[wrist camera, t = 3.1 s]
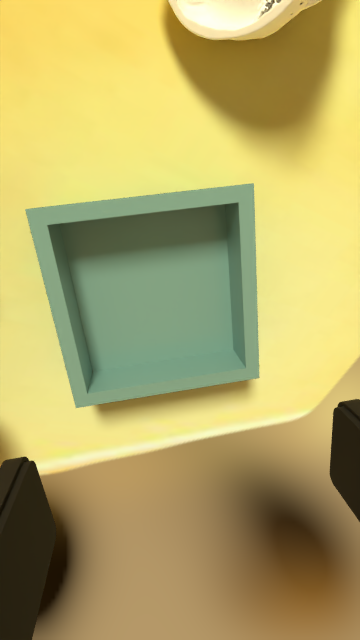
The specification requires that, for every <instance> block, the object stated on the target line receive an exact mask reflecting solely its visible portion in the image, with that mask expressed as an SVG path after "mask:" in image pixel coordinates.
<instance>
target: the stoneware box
mask: <svg viewBox="0 0 360 640" xmlns="http://www.w3.org/2000/svg"><path fill="white" fill-rule="evenodd" d="M25 210H26V214H27V218H28V222H29V226H30V230H31V233H32V237H33V241H34V245H35V249H36V253H37V257H38V261H39V265H40V269H41V273H42V277H43V280H44V284H45V288H46V292H47V296H48V300H49V304H50V308H51V312H52V316H53V320H54V323H55V327H56V331H57V335H58V339H59V343H60V347H61V351H62V355H63V359H64V363H65V367H66V370H67V374H68V378H69V382H70V386H71V390H72V394H73V398H74V402H75V406H76V408H79V407H85V406H91V405H97V404H104V403H110V402H116V401H122V400H128V399H134V398H140V397H146V396H152V395H158V394H164V393H171V392H177V391H183V390H189V389H195V388H201V387H207V386H213V385H219V384H225V383H231V382H237V381H244V380H250V379H256V378H259V349H258V314H257V279H256V244H255V209H254V183H252V184H244V185H235V186H226V187H217V188H208V189H199V190H191V191H182V192H173V193H164V194H155V195H146V196H138V197H129V198H120V199H111V200H102V201H93V202H85V203H76V204H67V205H58V206H49V207H40V208H32V209H25Z"/></svg>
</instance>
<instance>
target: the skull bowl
mask: <svg viewBox="0 0 360 640" xmlns="http://www.w3.org/2000/svg"><path fill="white" fill-rule="evenodd" d="M320 1H322V0H168V2H169V4H170V6H171V8H172V9H173V11H174V13H175V15H176V17H177V18H178V19H179V21H180V22H181V23H182V25H183V26H184V27H185V28H187V29H188V30H189V31H190V32H192V33H194V34H196V35H197V36H200V37H203V38H206V39H211V40H226V39H231V40H249V39H256V38H264V37H267V36H269V35H271V34H273V33H275V32H276V31H278V30H279V29H280V28H281V27H283V26H284V25H285V24H286V23H288V22H289V21H290V20H291V19H293V18H294V17H295V16H296V15H297V14H299V13H300V12H301V11H302V10H304V9H307V8H309V7H311V6H313V5H315V4H317V3H319V2H320ZM291 13H293V14H291Z"/></svg>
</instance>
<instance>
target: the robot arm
mask: <svg viewBox="0 0 360 640" xmlns="http://www.w3.org/2000/svg"><path fill="white" fill-rule="evenodd" d="M330 477H331V480H332V482H333V484H334V486H335V487H336V489H337V490H338V492H339V493H340V494H341V496H342V497H343V499H344V500H345V501H346V503H347V504H348V506H349V507H350V509H351V510H352V511H353V513H354V514H355V516H356V517H357V519H358V520H359V521H360V400H359V399H355V400H349V401H344V402H340V403H339V404H338V407H337V408H335V409H334V412H333V430H332V444H331V460H330ZM55 539H56V526H55V522H54V519H53V516H52V513H51V510H50V507H49V504H48V501H47V498H46V495H45V492H44V489H43V485H42V482H41V479H40V476H39V473H38V470H37V467H36V464H35V462H34V461H29V460H28V458H27V457H21V458H15V459H9V460H5V461H4V462H3V463H2V465H1V467H0V640H32V636H33V632H34V628H35V624H36V619H37V615H38V611H39V607H40V602H41V598H42V594H43V590H44V586H45V581H46V577H47V573H48V569H49V564H50V560H51V556H52V552H53V548H54V544H55Z"/></svg>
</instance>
